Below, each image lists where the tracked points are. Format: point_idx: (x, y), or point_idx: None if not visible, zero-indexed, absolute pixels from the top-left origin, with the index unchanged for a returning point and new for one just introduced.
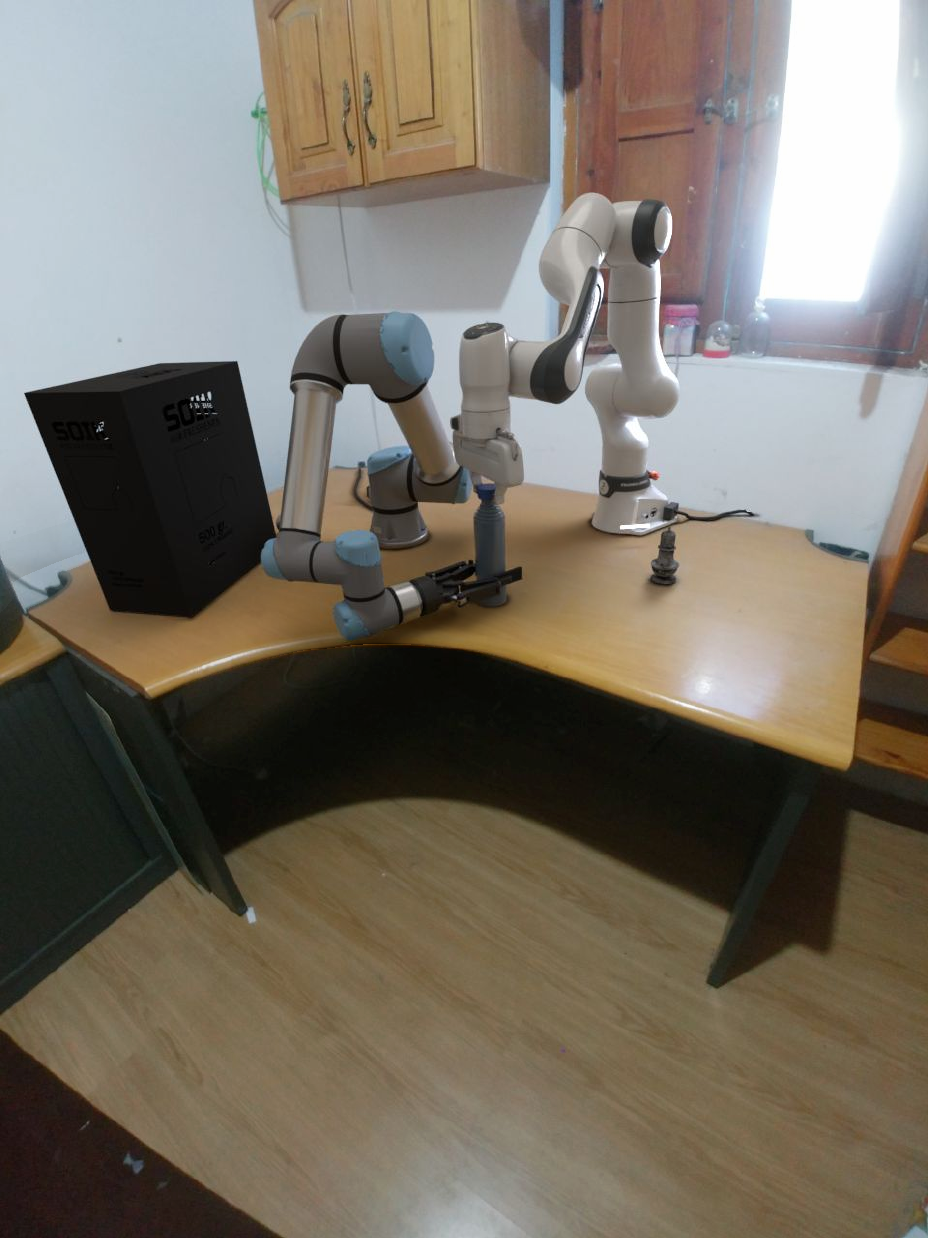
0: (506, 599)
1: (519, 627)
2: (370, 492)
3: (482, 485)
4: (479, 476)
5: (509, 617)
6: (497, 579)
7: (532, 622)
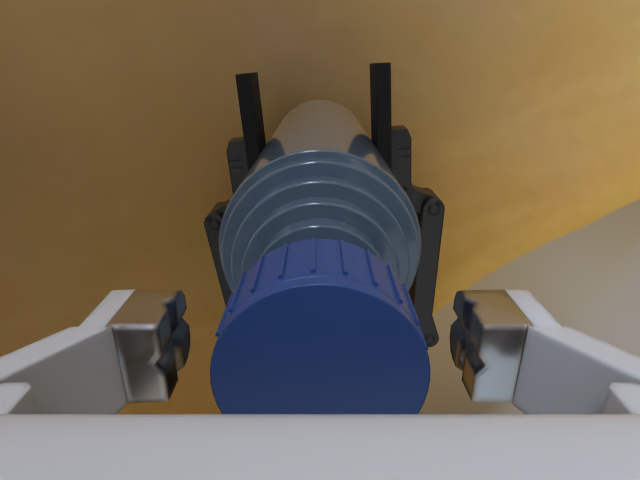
0: (349, 110)
1: (500, 164)
2: None
3: (253, 404)
4: (42, 378)
5: (439, 158)
6: (410, 194)
7: (504, 118)
